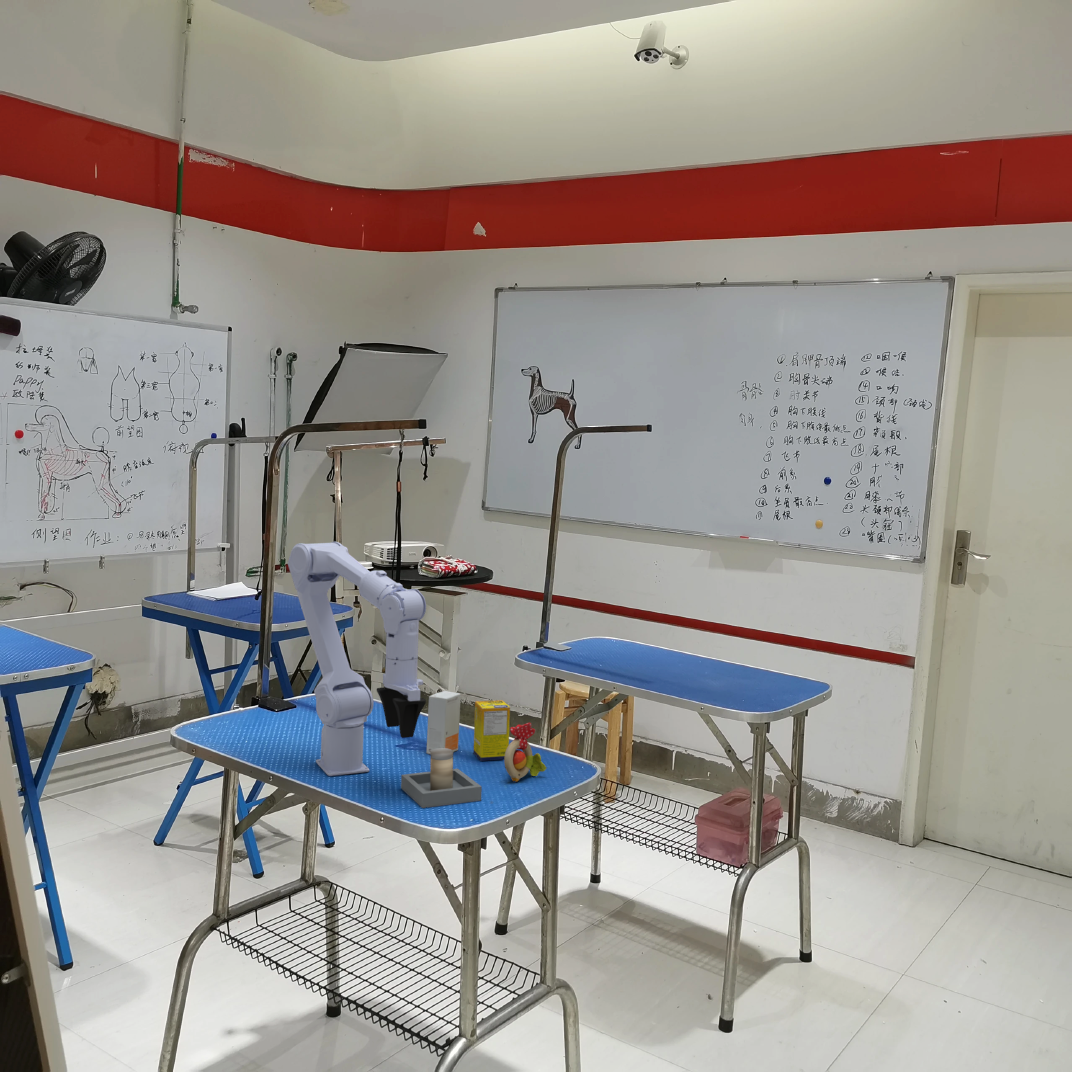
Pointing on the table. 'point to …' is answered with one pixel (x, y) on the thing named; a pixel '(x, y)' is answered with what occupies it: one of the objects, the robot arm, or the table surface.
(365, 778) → the table surface
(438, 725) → the skincare box
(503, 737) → the supplement box
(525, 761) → the bird rattle
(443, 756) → the cylinder
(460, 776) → the tray
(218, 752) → the table surface
